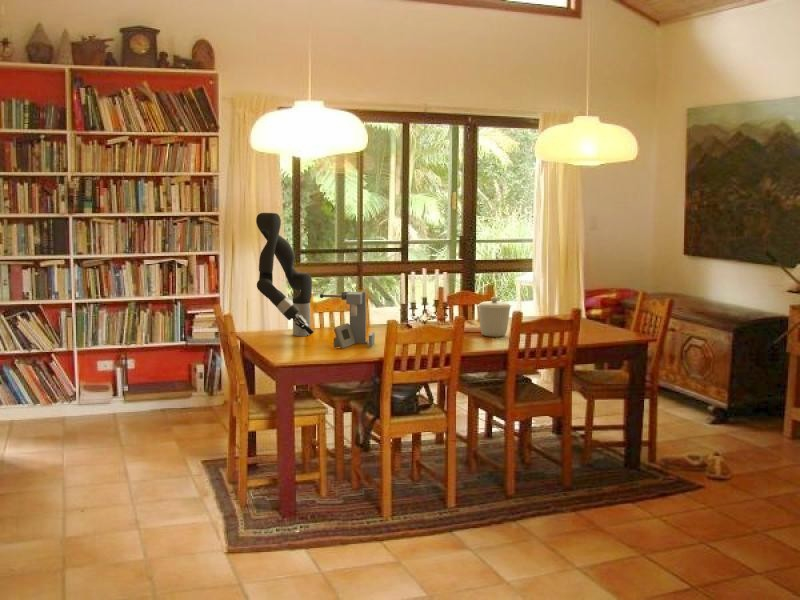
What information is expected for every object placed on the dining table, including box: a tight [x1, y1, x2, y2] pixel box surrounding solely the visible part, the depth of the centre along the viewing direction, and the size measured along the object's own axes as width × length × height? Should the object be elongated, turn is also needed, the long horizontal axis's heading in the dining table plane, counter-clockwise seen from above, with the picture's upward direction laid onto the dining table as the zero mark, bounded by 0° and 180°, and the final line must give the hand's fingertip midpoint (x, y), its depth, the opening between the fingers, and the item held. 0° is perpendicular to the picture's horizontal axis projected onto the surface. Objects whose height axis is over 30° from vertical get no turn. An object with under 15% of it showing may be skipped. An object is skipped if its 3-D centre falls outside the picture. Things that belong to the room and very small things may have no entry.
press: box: [341, 291, 376, 348], centre depth 431 cm, size 14×17×26 cm
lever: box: [319, 293, 346, 299], centre depth 434 cm, size 2×14×2 cm, turn 85°
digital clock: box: [333, 323, 355, 350], centre depth 428 cm, size 16×9×11 cm, turn 150°
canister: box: [477, 296, 512, 338], centre depth 463 cm, size 18×18×21 cm
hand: (312, 333), depth 432 cm, fingers closed
